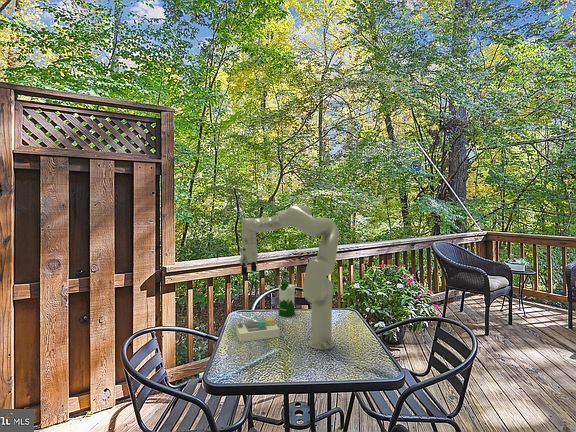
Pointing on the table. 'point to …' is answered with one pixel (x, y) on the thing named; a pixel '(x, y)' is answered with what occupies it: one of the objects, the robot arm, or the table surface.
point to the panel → (256, 332)
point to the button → (269, 321)
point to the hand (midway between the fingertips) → (249, 272)
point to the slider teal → (261, 324)
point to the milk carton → (286, 299)
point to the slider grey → (249, 322)
